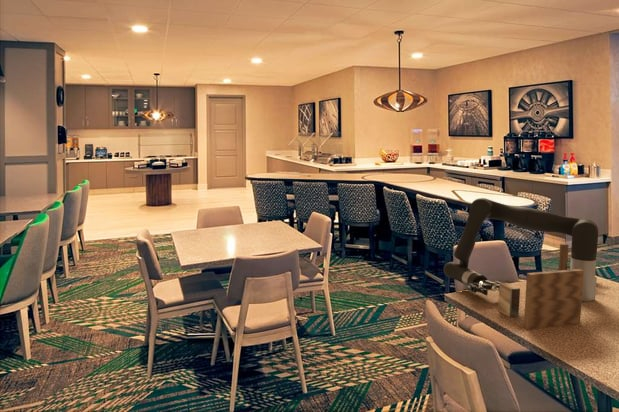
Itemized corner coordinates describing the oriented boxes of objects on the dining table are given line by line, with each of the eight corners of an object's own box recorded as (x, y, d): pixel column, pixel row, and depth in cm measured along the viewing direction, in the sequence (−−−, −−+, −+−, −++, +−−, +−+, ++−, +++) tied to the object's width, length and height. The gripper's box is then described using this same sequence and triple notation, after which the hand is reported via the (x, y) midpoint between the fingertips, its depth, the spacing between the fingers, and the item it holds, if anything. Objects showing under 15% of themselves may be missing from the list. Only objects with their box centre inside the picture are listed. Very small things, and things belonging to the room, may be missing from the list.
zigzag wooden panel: (566, 316, 188) (569, 265, 185) (580, 323, 181) (583, 270, 179) (515, 322, 183) (517, 269, 180) (527, 329, 176) (530, 274, 174)
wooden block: (582, 285, 226) (585, 246, 224) (556, 282, 232) (559, 244, 229) (583, 283, 229) (586, 245, 227) (557, 280, 235) (559, 242, 233)
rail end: (505, 309, 196) (507, 282, 195) (518, 316, 189) (520, 288, 187) (498, 310, 196) (499, 283, 194) (510, 317, 188) (512, 289, 186)
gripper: (459, 273, 213) (480, 284, 197) (489, 271, 216) (512, 281, 200) (459, 290, 214) (480, 302, 198) (488, 287, 217) (511, 299, 201)
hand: (496, 292), depth 199 cm, fingers open, 8 cm apart
